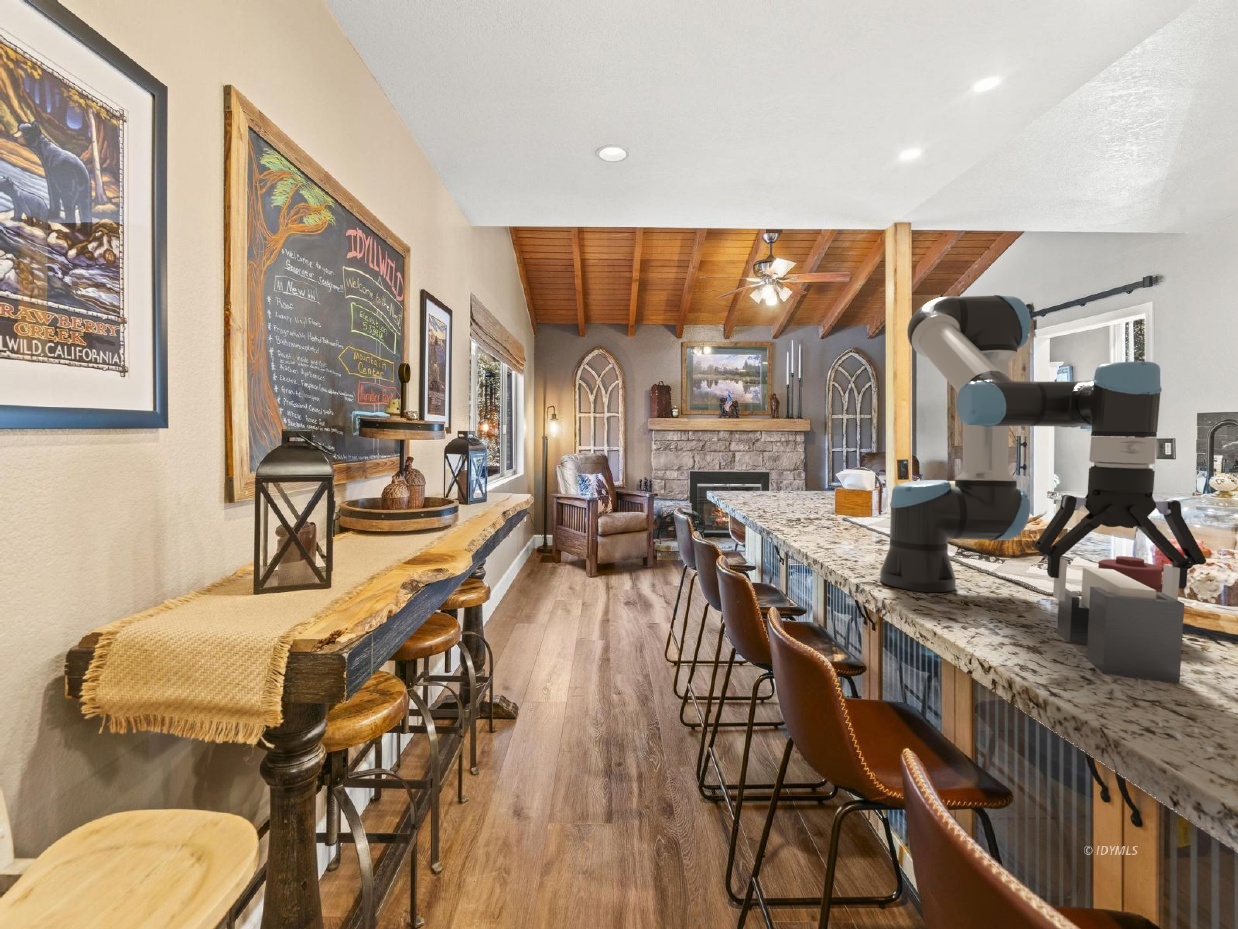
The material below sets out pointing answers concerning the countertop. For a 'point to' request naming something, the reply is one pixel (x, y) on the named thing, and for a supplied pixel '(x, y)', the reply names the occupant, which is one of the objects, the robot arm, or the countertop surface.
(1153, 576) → the mechanical component
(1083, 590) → the cream rectangular block
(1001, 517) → the robot arm
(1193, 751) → the countertop surface
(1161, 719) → the countertop surface
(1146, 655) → the cup bracket
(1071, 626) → the grey channel block
